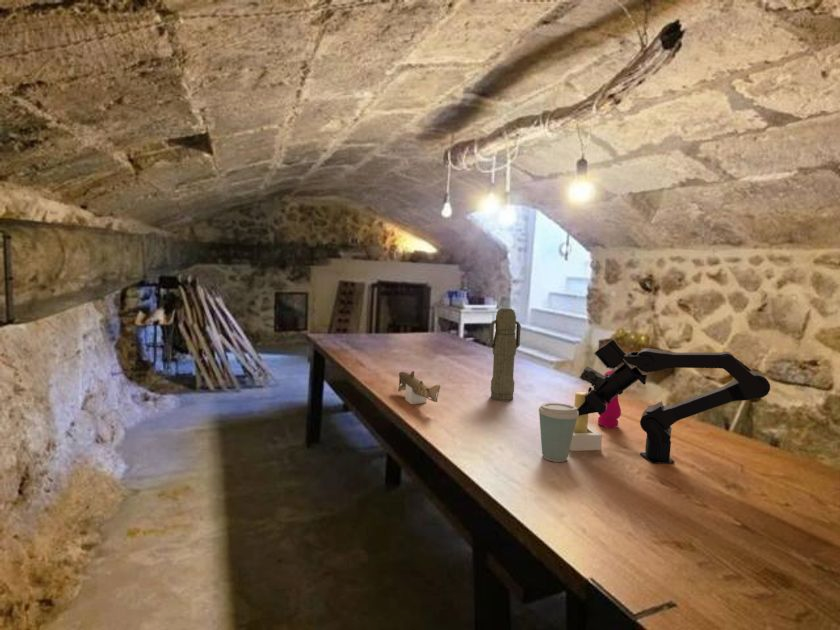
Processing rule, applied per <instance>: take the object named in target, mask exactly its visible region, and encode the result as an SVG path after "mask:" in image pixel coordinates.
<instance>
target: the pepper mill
mask: <svg viewBox="0 0 840 630" xmlns="http://www.w3.org/2000/svg"><path fill="white" fill-rule="evenodd" d="M616 369H618V366H617V367H615V368H614V369H613V368H611V370H608V371H606V372H605V373H604V374H603V375H604V376H605V375H607V374H611V373H613V372H614V371H615V370H616ZM606 403H607V402H606ZM621 408H622V407H621V406H620V402H619V394H618V395H617V396H616V397H614V398H613V399H612V400H611V402H610V403H607V409H606V411H605V412H604V413H602V414H601V415H600V414H598V415H599V416H598V419H597V423H598V425H600V426H601V427H605V428H608V429H613V428H618V426H619V420H618V419H619V418H620V417H621V415H622V409H621Z"/></svg>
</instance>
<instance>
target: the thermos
mask: <svg viewBox="0 0 840 630" xmlns="http://www.w3.org/2000/svg"><path fill="white" fill-rule="evenodd" d="M494 326H495V327H494ZM494 329H495V332H494ZM521 329H522V327H521V323H520V322H519V321H517V317H516V312H515V310H514V309H512V308H505V307H504V308H500V309H498V310H497V311H496V314H495V319H494V320H492V321H491V323H490V324H489V348H492V355H493V362H492V363H493V365H492V366H493V367H492V378H491V380H490V398H491V399H492V400H495V401H499V402H509V401H513V400H514V392H515V379H514V370H515V369H514V368H515V356H516V353H517V349H518V348H519V347H520V344H521V342H520V341H521ZM515 331H516V332H515Z"/></svg>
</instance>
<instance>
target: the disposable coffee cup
mask: <svg viewBox="0 0 840 630" xmlns="http://www.w3.org/2000/svg"><path fill="white" fill-rule="evenodd" d="M538 414H539V429H540V441H541V455H542V457H543V458H544V459H545V460H547V461H550V462H554V463H563V462H566V460H567V459H568V456H569V453H570V450H569V449H570V445H571V441H572V437H573V433H574V428H575V424H576V420H577V418H578V416H579V412H578V411H577V407H575V406H574V405H572V404H567V403H561V402H560V403H559V402H546V403H543V404H541V405H540V407H539V408H538Z"/></svg>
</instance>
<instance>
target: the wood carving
mask: <svg viewBox="0 0 840 630" xmlns="http://www.w3.org/2000/svg"><path fill="white" fill-rule="evenodd" d="M398 378H399V379H398V389H397V391H398V392H401V391H405V401H406V402H408V403H409V404H410V405H417V404H427V400H430V401H431V402H434V403H438V397H439V392H440V390H441V384H435V385H433V386H431V387H429V386H427V384H425V383H424V382H423V380H420V379H418V378H416V377H415V370H412V371H411V372H410V373H408V372H405V371H399V373H398Z"/></svg>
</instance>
